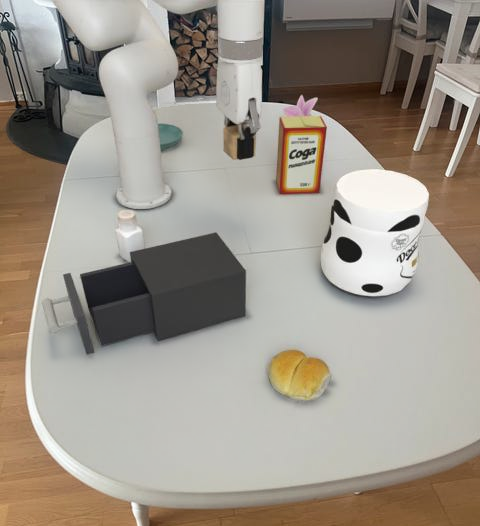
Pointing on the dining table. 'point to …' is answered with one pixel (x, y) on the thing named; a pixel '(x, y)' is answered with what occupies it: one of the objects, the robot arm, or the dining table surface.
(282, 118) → the baking soda box
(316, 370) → the bread roll
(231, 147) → the block
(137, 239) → the salt shaker
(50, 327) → the drawer
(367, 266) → the milk container
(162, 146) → the saucer
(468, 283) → the dining table surface
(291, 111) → the lily
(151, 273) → the cabinet
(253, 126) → the robot arm
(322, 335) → the dining table surface
